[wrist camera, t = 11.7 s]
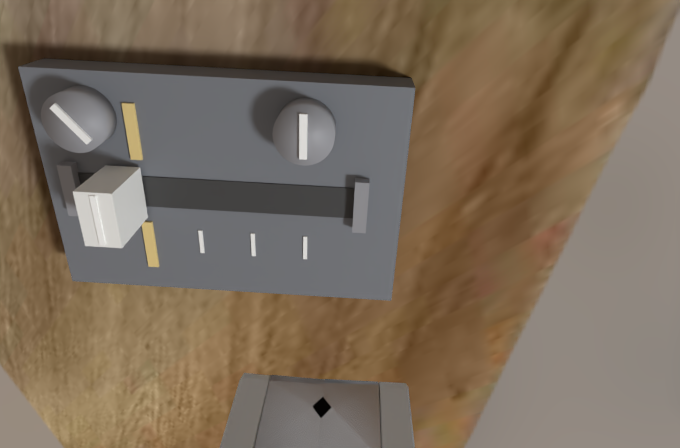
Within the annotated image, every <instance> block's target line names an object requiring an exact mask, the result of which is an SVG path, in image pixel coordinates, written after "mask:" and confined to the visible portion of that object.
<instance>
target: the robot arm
mask: <svg viewBox="0 0 680 448" xmlns="http://www.w3.org/2000/svg"><path fill="white" fill-rule="evenodd" d="M220 448H415V446H414V437H413V427H412V418H411V408H410V399H409V390H408V386H407V385H406V383H390V382H379V383H378V382H371V381H352V380H333V379H325V380H324V379H312V378H301V377H289V376H278V375H260V374H249V373H244V374H243V376H242V377H241V379H240V381H239V384H238V388H237V391H236V395H235V398H234V401H233V405H232V408H231V411H230V415H229V418H228V421H227V425H226V428H225V432H224V435H223V438H222V442H221V445H220Z"/></svg>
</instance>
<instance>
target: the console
mask: <svg viewBox="0 0 680 448" xmlns="http://www.w3.org/2000/svg"><path fill="white" fill-rule="evenodd" d="M18 69H19V72H20V76H21V80H22V84H23V88H24V92H25V96H26V100H27V104H28V108H29V112H30V116H31V120H32V123H33V127H34V131H35V135H36V139H37V143H38V147H39V151H40V155H41V159H42V163H43V167H44V171H45V174H46V178H47V182H48V186H49V190H50V194H51V198H52V202H53V206H54V210H55V214H56V218H57V221H58V225H59V229H60V233H61V237H62V241H63V245H64V249H65V253H66V257H67V261H68V265H69V269H70V272H71V276H72V280H73V281H80V282H97V283H113V284H129V285H146V286H162V287H178V288H195V289H211V290H227V291H244V292H260V293H276V294H293V295H309V296H325V297H342V298H358V299H374V300H391V298H392V289H393V280H394V271H395V263H396V254H397V245H398V236H399V227H400V219H401V210H402V201H403V192H404V183H405V174H406V166H407V157H408V148H409V139H410V130H411V121H412V113H413V104H414V95H415V86H414V83H413V81H412V78H402V77H384V76H365V75H346V74H327V73H308V72H289V71H271V70H252V69H233V68H214V67H195V66H176V65H158V64H139V63H120V62H101V61H82V60H63V59H45V58H44V59H41V60H38V61H34V62H31V63H28V64H25V65H22V66H19V67H18ZM105 165H109V166H127V167H140V169H141V176H142V182H143V188H144V195H145V201H146V207H147V214H148V218H147V219H146V220H145V222H144V223H143V224H142V225H141V226H140V228H139V229H138V230H137V231H136V232H135V234H134V235H133V236H132V237H131V238H130V240H129V241H128V242H127V243H126V244H125V246H124V247H123V248H109V247H93V246H85V243H84V239H83V234H82V230H81V226H80V222H79V217H78V213H77V209H76V204H75V200H74V196H73V191H74V190H75V189H76V188H78V187H79V186H80V185H81V184H83V183H84V182H85V181H86V180H88V179H89V178H90V177H91V176H93V175H94V174H95V173H96V172H98V171H99V170H100V169H101V168H103V167H104V166H105Z"/></svg>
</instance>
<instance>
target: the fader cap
mask: <svg viewBox="0 0 680 448" xmlns="http://www.w3.org/2000/svg"><path fill="white" fill-rule="evenodd" d="M73 196H74V200H75V204H76V209H77V213H78V217H79V222H80V226H81V230H82V234H83V239H84V243H85V246H93V247H109V248H123V247H124V246H125V244H126V243H127V242H128V241H129V240H130V238H131V237H132V236H133V235H134V234H135V232H136V231H137V230H138V229H139V228H140V226H141V225H142V224H143V223H144V222H145V220H146V219H147V218H148V214H147V207H146V201H145V195H144V188H143V182H142V176H141V169H140V167H127V166H109V165H105V166H104V167H103V168H101V169H100V170H99V171H98V172H96V173H95V174H94V175H93V176H91V177H90V178H89V179H88V180H86V181H85V182H84V183H83V184H81V185H80V186H79V187H78V188H76V189H75V190H74V191H73Z"/></svg>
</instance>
